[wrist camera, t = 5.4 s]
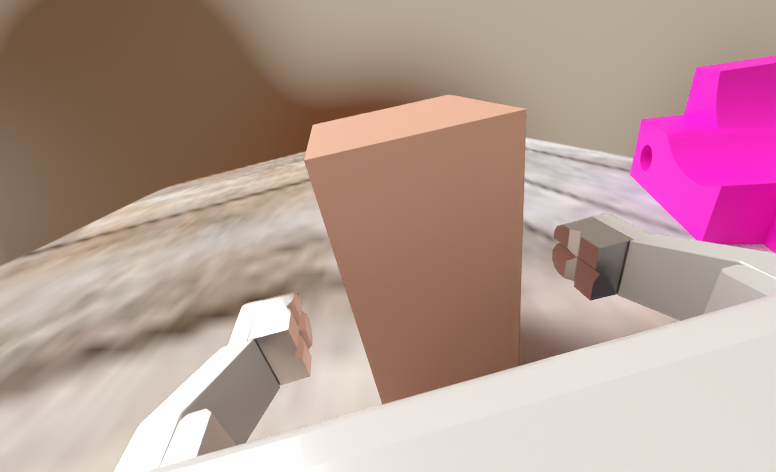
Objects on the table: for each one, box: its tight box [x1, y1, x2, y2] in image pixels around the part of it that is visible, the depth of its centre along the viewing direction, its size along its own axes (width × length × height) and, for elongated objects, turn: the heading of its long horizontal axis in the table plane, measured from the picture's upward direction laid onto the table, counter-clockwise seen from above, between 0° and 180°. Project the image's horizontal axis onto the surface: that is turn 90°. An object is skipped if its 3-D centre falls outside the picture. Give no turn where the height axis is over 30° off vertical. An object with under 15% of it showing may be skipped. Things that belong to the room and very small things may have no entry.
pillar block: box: [304, 95, 526, 404], centre depth 11 cm, size 5×5×10 cm
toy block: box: [630, 56, 776, 253], centre depth 16 cm, size 15×6×8 cm, turn 164°
